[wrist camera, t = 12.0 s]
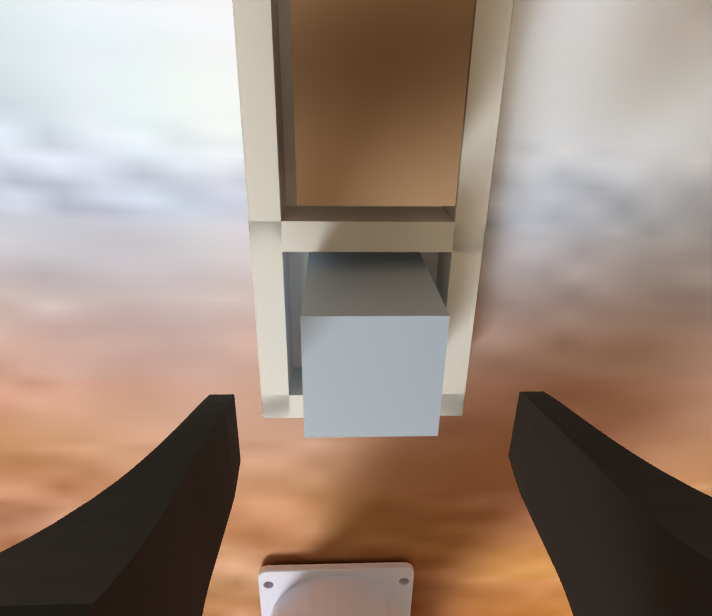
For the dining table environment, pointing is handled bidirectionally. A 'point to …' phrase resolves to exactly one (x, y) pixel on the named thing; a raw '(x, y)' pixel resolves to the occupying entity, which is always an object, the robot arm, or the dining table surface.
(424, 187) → the tan cardboard carton
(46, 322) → the dining table surface
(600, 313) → the dining table surface
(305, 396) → the grey rectangular prism
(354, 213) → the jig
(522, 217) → the dining table surface
